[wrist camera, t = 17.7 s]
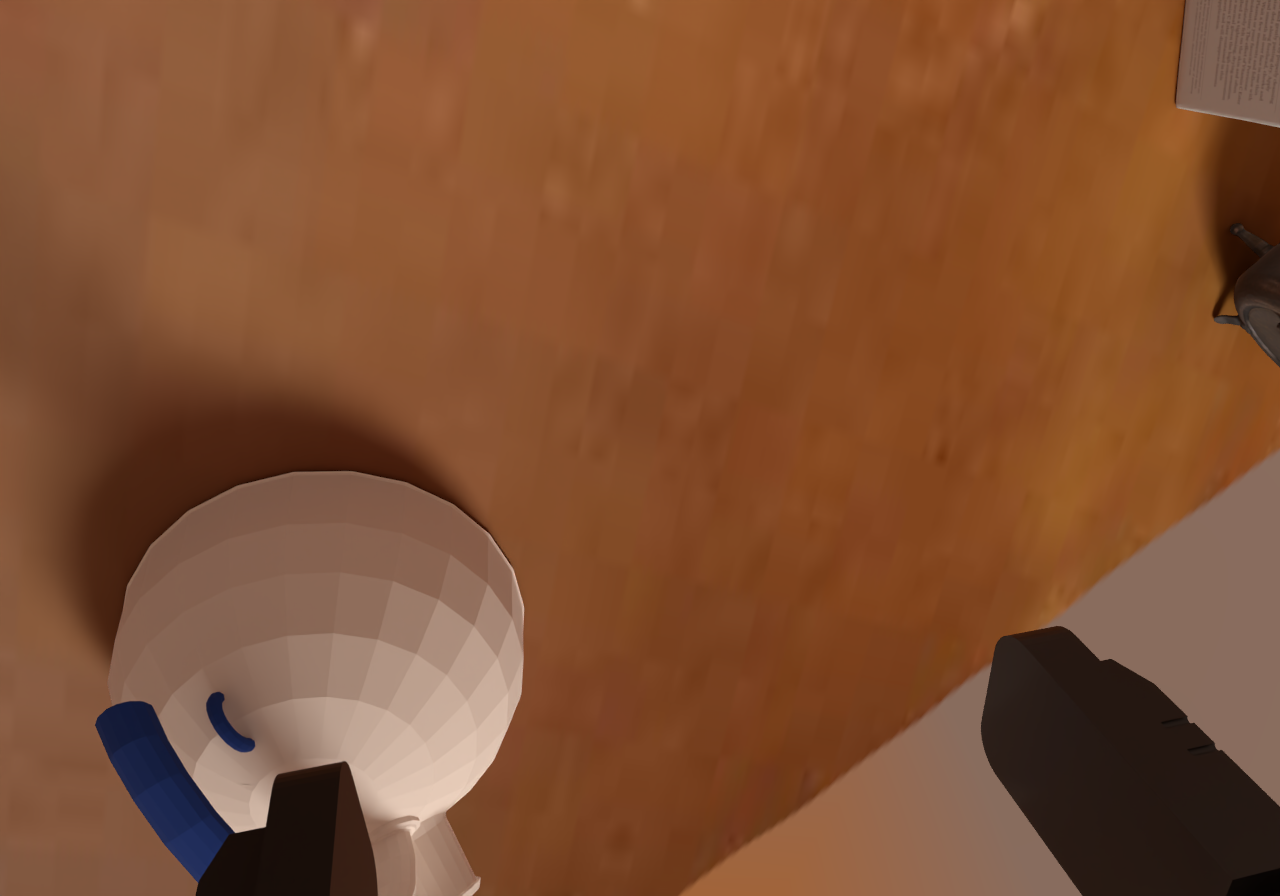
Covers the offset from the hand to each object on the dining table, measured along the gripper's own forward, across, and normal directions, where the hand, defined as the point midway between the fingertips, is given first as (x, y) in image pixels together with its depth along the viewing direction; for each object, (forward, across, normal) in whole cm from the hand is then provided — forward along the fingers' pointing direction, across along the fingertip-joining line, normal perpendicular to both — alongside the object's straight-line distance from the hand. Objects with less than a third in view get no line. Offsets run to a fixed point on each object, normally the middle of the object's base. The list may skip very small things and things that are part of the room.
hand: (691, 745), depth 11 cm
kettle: (+34, +11, +23) cm, 42 cm away
